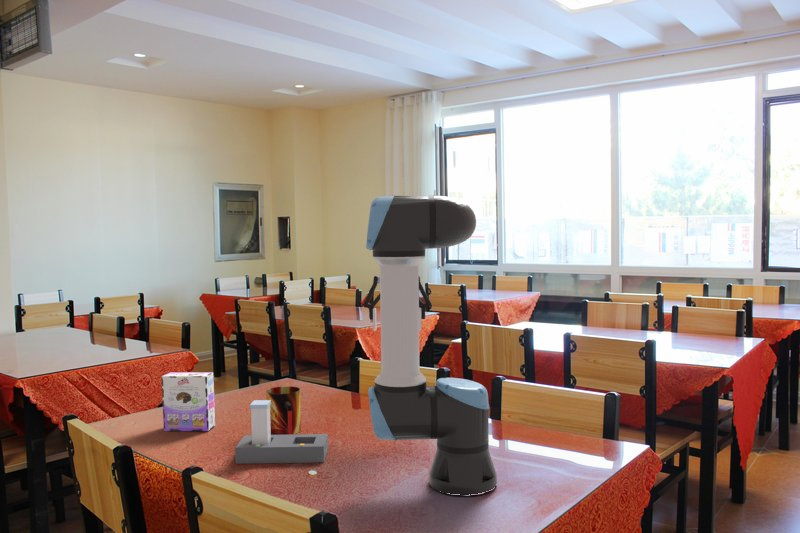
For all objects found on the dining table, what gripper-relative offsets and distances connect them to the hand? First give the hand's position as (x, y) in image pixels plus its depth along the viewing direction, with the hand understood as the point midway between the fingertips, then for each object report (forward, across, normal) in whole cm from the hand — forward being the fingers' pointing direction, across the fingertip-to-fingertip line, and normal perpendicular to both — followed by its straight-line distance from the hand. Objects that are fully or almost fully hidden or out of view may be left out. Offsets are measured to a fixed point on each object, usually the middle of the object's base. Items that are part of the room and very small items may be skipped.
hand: (397, 330), depth 191 cm
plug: (+28, +34, +30) cm, 53 cm away
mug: (+28, +31, +10) cm, 43 cm away
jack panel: (+28, +28, +30) cm, 50 cm away
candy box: (+28, +62, +6) cm, 68 cm away
